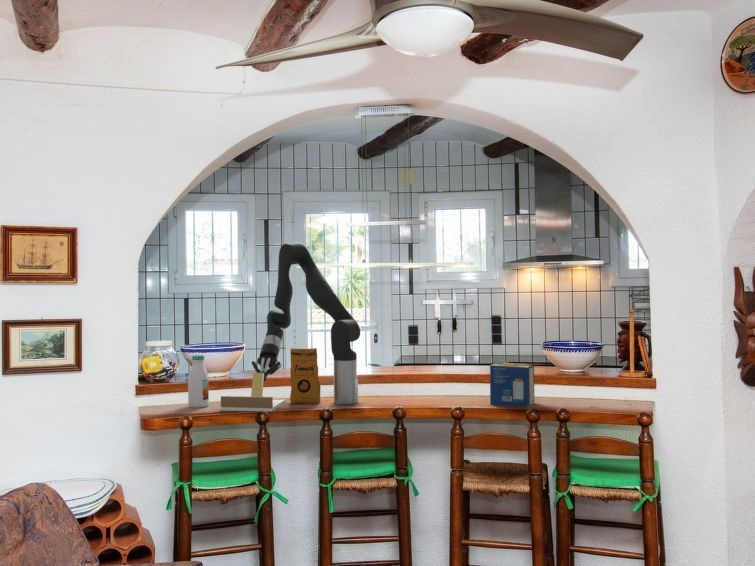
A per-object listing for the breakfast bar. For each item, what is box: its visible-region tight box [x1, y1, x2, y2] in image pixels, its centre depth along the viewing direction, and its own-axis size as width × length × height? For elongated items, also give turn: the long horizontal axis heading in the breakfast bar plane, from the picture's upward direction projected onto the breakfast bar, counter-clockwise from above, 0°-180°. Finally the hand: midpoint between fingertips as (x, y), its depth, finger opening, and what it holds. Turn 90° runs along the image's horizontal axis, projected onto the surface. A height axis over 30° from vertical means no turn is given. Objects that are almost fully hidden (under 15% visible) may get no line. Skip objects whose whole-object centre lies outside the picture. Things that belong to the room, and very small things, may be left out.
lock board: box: [220, 395, 286, 412], centre depth 255 cm, size 20×18×5 cm
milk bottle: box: [187, 354, 210, 409], centre depth 257 cm, size 8×8×20 cm
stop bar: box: [250, 372, 265, 397], centre depth 260 cm, size 4×2×11 cm, turn 81°
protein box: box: [489, 361, 536, 407], centre depth 258 cm, size 10×15×16 cm
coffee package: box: [289, 347, 321, 405], centre depth 263 cm, size 10×12×22 cm
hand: (261, 381), depth 265 cm, fingers closed
